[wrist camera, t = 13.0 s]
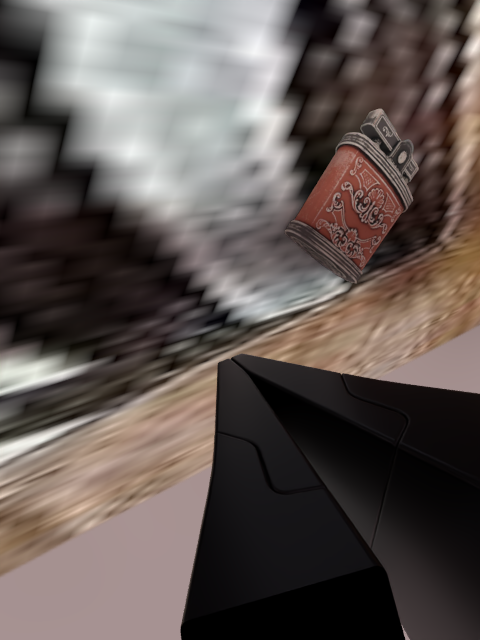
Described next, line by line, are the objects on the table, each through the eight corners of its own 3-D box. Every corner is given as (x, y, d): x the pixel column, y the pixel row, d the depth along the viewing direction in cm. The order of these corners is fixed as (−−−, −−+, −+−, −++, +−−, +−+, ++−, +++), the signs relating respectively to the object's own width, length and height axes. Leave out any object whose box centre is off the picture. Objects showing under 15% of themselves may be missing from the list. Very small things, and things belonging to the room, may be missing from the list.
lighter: (337, 277, 24) (404, 178, 23) (365, 287, 21) (444, 174, 20) (276, 228, 20) (352, 105, 19) (300, 233, 17) (392, 86, 16)
